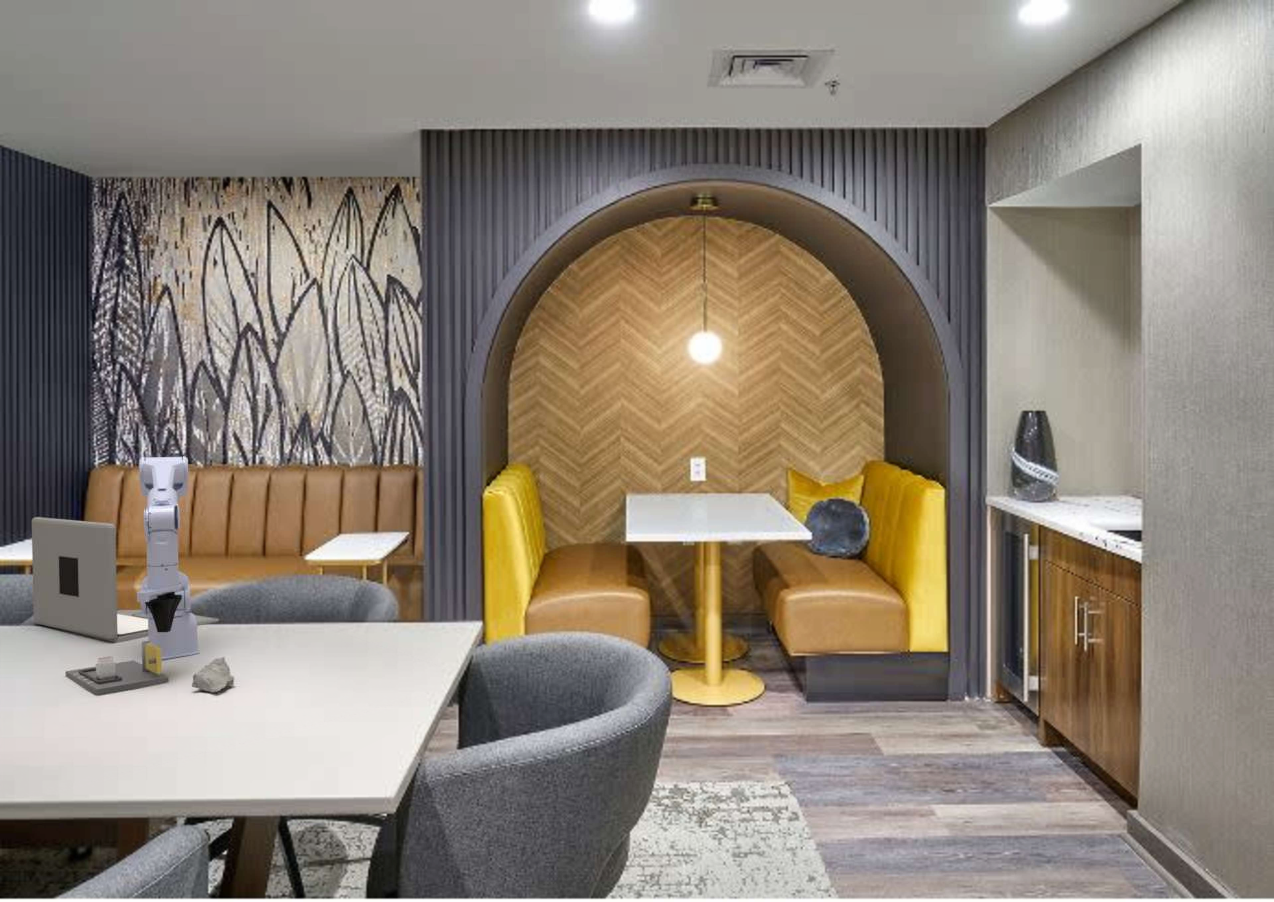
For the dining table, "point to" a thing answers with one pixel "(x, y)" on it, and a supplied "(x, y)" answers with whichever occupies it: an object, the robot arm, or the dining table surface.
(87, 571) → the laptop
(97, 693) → the console
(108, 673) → the fader knob
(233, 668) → the dining table surface
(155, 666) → the door
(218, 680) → the stone
